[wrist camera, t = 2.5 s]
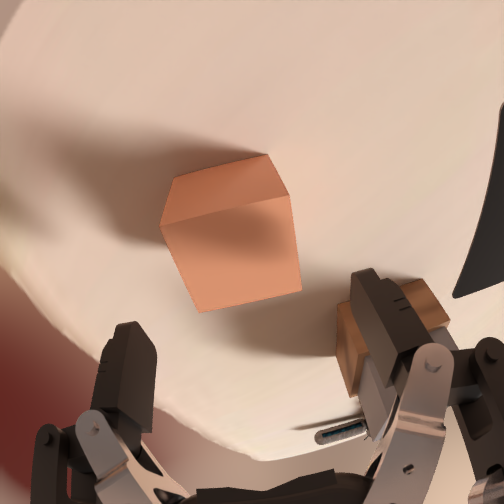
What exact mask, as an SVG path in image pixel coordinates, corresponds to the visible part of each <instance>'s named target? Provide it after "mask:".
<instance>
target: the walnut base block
mask: <svg viewBox="0 0 504 504" xmlns="http://www.w3.org/2000/svg"><path fill="white" fill-rule="evenodd" d="M399 287H400V288H401V290H402V291H403V293H404V294H405V296H406V299H408V300H409V302H410V303H411V305H412V308H414V310H415V311H416V313H417V315H418V316H419V318H420V319H421V321H422V323H423V324H424V326H425V328H426V329H427V331H428V333H429V332H432V331H434V330H436V329H439V328H441V327H443V326H445V327H446V329H447V327H448V325H449V323H450V318H449V317H448V315H447V313H446V312H445V310H444V309H443V307H442V306H441V304H440V303H439V301H438V300H437V298H436V297H435V295H434V294H433V293H432V291H431V290H430V288H429V287H428V285H427V284H426V283H425V281H424V280H423V279H420V280H417V281H414V282H411V283H408V284H404V285H401V286H399ZM368 355H370V353H369V350H368V348H367V346H366V344H365V341H364V339H363V337H362V335H361V332H360V330H359V328H358V326H357V324H356V322H355V319H354V317H353V314H352V311H351V306H350V301H347V302H344V303H340V304H338V308H337V344H336V358H337V361H338V364H339V367H340V370H341V373H342V376H343V379H344V382H345V385H346V388H347V391H348V394H349V397H350V398H351V397H355V396H358V389H359V385H360V380H361V375H362V370H363V365H364V359H365V356H368Z"/></svg>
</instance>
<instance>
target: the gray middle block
mask: <svg viewBox="0 0 504 504" xmlns="http://www.w3.org/2000/svg"><path fill="white" fill-rule="evenodd" d="M429 334H430V336H431V338H432V339H433V341H434V342H435V343H437V344H441V345H443V346H445V347H446V348H447V349H448V350H459V349H458V347H457V345H456V344H455V342H454V340H453V339H452V337H451V335H450V334H449V332H448V330H447V329H446V327H445V326H443V327H441V328H439V329H436V330H434V331H432V332H429ZM396 394H397V392H396V390H395V387H394V386H391V387H389V388H386V389H385V388H384V386H383V383H382V381H381V378H380V376H379V374H378V371H377V369H376V366H375V364H374V362H373V359H372V357H371V355H368V356H365V359H364V365H363V370H362V375H361V380H360V385H359V389H358V397H359V400H360V403H361V406H362V409H363V412H364V416H365V419H366V422H367V425H368V428H369V431H370V434H371V438H372V441H373V442H374V441H377V440H380V439H381V437H382V434H383V432H384V429H385V426H386V424H387V421H388V418H389V415H390V412H391V409H392V406H393V403H394V400H395V397H396ZM447 407H448V406H447ZM446 409H447V408H446Z"/></svg>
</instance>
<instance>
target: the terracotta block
mask: <svg viewBox="0 0 504 504" xmlns="http://www.w3.org/2000/svg"><path fill="white" fill-rule="evenodd" d="M159 228H160V230H161V232H162V235H163V237H164V239H165V242H166V244H167V246H168V248H169V251H170V253H171V255H172V257H173V260H174V262H175V264H176V266H177V268H178V271H179V273H180V275H181V277H182V279H183V281H184V283H185V285H186V288H187V290H188V292H189V294H190V296H191V298H192V300H193V302H194V304H195V306H196V308H197V310H198V312H199V313H201V312H207V311H212V310H216V309H221V308H226V307H231V306H236V305H240V304H245V303H250V302H254V301H259V300H263V299H268V298H272V297H276V296H281V295H285V294H289V293H294V292H298V291H302V285H301V277H300V268H299V260H298V252H297V245H296V237H295V230H294V223H293V216H292V209H291V202H290V195H289V193H288V191H287V189H286V187H285V185H284V184H283V182H282V180H281V178H280V176H279V174H278V172H277V170H276V168H275V167H274V165H273V163H272V161H271V159H270V157H269V156H268V154H267V155H263V156H258V157H253V158H249V159H244V160H240V161H236V162H231V163H227V164H223V165H219V166H215V167H211V168H207V169H203V170H199V171H196V172H192V173H188V174H185V175H181V176H177V177H174V179H173V182H172V185H171V188H170V191H169V195H168V198H167V201H166V204H165V208H164V211H163V214H162V218H161V221H160V225H159Z"/></svg>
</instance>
